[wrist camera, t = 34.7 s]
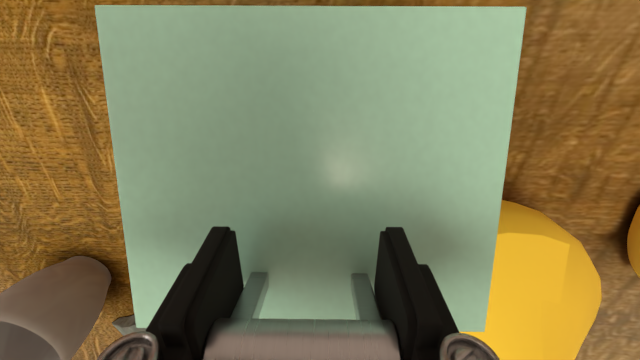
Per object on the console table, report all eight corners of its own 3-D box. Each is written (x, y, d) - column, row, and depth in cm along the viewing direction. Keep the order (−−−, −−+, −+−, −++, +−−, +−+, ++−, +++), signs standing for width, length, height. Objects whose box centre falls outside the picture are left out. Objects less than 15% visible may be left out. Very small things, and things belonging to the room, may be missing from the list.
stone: (163, 359, 43) (213, 365, 39) (141, 387, 40) (193, 397, 36) (123, 305, 40) (173, 305, 36) (95, 330, 37) (147, 334, 32)
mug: (106, 239, 33) (27, 313, 24) (138, 296, 36) (81, 378, 28) (6, 250, 33) (-105, 326, 25) (48, 305, 37) (-35, 387, 29)
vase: (401, 323, 38) (465, 560, 21) (325, 222, 31) (327, 449, 14) (548, 264, 34) (785, 505, 16) (496, 131, 27) (803, 304, 10)
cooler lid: (475, 320, 13) (586, 463, 8) (146, 316, 13) (20, 455, 8) (512, 14, 11) (714, -99, 5) (109, 12, 11) (-111, -100, 5)
